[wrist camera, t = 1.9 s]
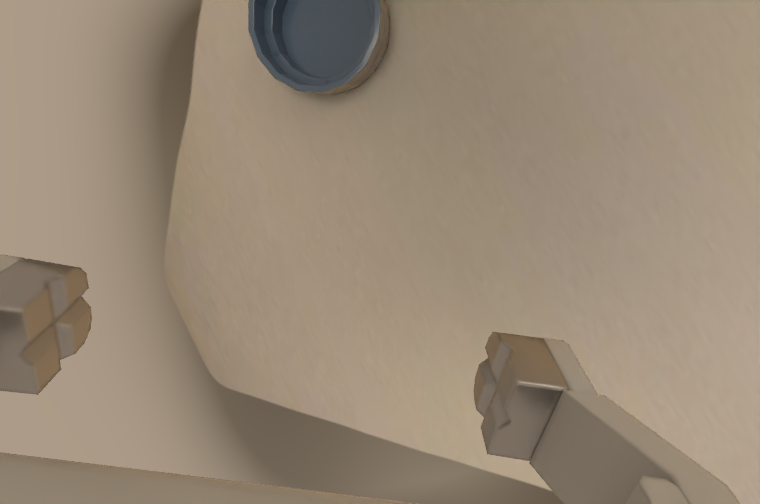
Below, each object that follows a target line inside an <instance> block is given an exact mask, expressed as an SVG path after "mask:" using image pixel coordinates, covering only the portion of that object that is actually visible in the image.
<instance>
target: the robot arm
mask: <svg viewBox="0 0 760 504" xmlns="http://www.w3.org/2000/svg"><path fill="white" fill-rule="evenodd" d="M88 288H89V287H88V281H87V275H86V272H84V271H83V270H82V269H81V268H79V267H73V266H67V265H61V264H55V263H50V262H44V261H39V260H32V259H25V258H22V257H15V256H8V255H0V391H9V392H19V393H29V394H37V395H38V394H39V393H40V392H41V391H42V389H43V388H44V387H45V386H46V385H47V384H48V383H49V382H50V381H51V380H52V379H53V377H54V376H55V375H56V374H57V373H58V372H59V371H60V370H61V366H60V360H61V359H64V358H66V357H68V356H70V355H73V354H75V353H76V352H77V351H78V350H79V349H80V347H81V346H82V345H83V344H84V342H85V340H86V338H87V336H88V333H89V331H90V328H91V320H92V315H91V307H90V306H89V304H88V303H87V302H86V301H85V300H84V299H83V297H82V295H83V294H84V293H85V292H86V290H87V289H88ZM485 348H486V352H487V355H488V358H487V359H486V360H485V361H483V362H482V363H481V364H479V367H478V370H477V373H476V377H475V384H474V400H475V405H476V409H477V411H478V412H479V413H480V414H481V415H482V416H483V417H484V419H483V422H482V425H481V430H482V434H483V438H484V442H485V446H486V450H487V454H490V455H496V456H502V457H508V458H515V459H521V460H527V461H530V464H531V465H532V467H533V468H534V469H535V470H536V471H537V473H538V474H539V475H540V476H541V477H542V479H543V480H544V481H545V482H546V483H547V485H548V486H549V487H550V488H551V489H552V491H553V492H554V493H555V494H556V495H557V497H558V498H559V499H560V500H561V502H562V503H563V504H740V502H739V501H738V500H737V498H736V497H735V496H734V494H733V493H732V491H731V490H730V489H729V487H728V486H727V485H726V484H724V483H723V482H722V481H720V480H719V479H718V478H716V477H715V476H714V475H712V474H711V473H709V472H708V471H707V470H705V469H704V468H703V467H701V466H700V465H699V464H697V463H696V462H695V461H693V460H692V459H690V458H689V457H688V456H686V455H685V454H684V453H682V452H681V451H680V450H678V449H677V448H675V447H674V446H673V445H671V444H670V443H669V442H667V441H666V440H665V439H663V438H662V437H660V436H659V435H658V434H656V433H655V432H654V431H652V430H651V429H650V428H648V427H647V426H645V425H644V424H643V423H641V422H640V421H639V420H637V419H636V418H635V417H633V416H632V415H630V414H629V413H628V412H626V411H625V410H624V409H622V408H621V407H620V406H618V405H617V404H615V403H614V402H613V401H611V400H610V399H609V398H607V397H606V396H602V395H598V394H597V393H596V391H595V389H594V387H593V386H592V384H591V382H590V380H589V379H588V377H587V375H586V374H585V372H584V370H583V368H582V367H581V365H580V363H579V361H578V360H577V358H576V356H575V354H574V353H573V351H572V349H571V348H570V346H569V344H568V343H566V342H565V341H563V340H556V339H547V338H536V337H529V336H521V335H514V334H506V333H499V332H492V334H491V335H490V337H489V339H488V341H487V344H486V347H485ZM0 504H416V503H408V502H400V501H391V500H384V499H376V498H368V497H360V496H351V495H344V494H335V493H328V492H320V491H312V490H304V489H296V488H288V487H280V486H271V485H263V484H255V483H247V482H238V481H230V480H222V479H214V478H205V477H197V476H189V475H181V474H172V473H164V472H156V471H148V470H140V469H131V468H123V467H115V466H107V465H97V464H90V463H82V462H74V461H66V460H58V459H49V458H41V457H33V456H25V455H17V454H9V453H0Z"/></svg>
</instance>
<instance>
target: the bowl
mask: <svg viewBox="0 0 760 504" xmlns="http://www.w3.org/2000/svg"><path fill="white" fill-rule="evenodd" d="M389 23H390V16H389V13H388V9H387V6H386V2H385V0H249V33H250V36H251V39H252V42H253V45H254V47H255V50H256V53H257V56H258V58H259V59H260V60H261V62H262V63H263V64H264V65H265V67H266V68H267V69H268V70H269V71H270V73H271V74H272V75H273V76H274V78H276V79H277V80H279V81H281V82H283V83H285V84H286V85H288V86H290V87H292V88H294V89H295V90H298V91H304V92H311V93H321V94H333V95H335V94H339V93H342V92H345V91H348V90H350V89H353V88H356V87H358V86H359V85H360V84H361V83H363V82H364V81H365V80H366V79H367V78H368V77H369V76H370V75H371V74H372V73H373V72H374V71H375V70H376V69H377V67H378V65H379V63H380V61H381V58H382V56H383V54H384V52H385V50H386V48H387V45H388V35H389Z"/></svg>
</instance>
